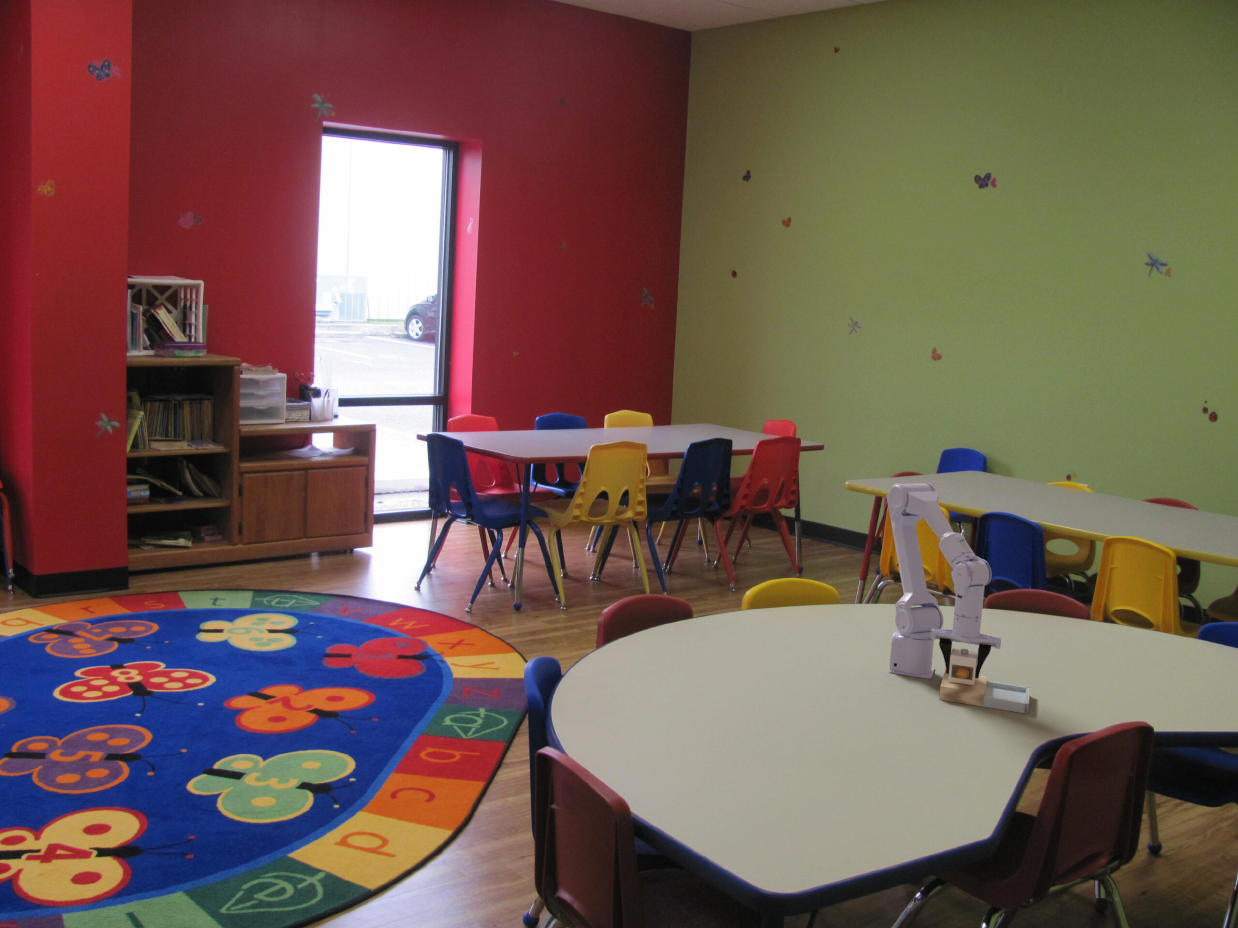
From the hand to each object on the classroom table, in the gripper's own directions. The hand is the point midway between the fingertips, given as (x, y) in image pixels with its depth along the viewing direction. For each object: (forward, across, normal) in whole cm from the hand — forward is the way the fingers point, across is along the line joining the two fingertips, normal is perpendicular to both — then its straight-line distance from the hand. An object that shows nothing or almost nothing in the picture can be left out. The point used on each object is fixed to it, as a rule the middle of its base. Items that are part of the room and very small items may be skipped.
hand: (962, 674), depth 237 cm
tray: (+4, +10, 0) cm, 10 cm away
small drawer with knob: (+1, 0, 0) cm, 1 cm away
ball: (0, 0, 0) cm, 0 cm away
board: (+4, 0, 0) cm, 4 cm away
